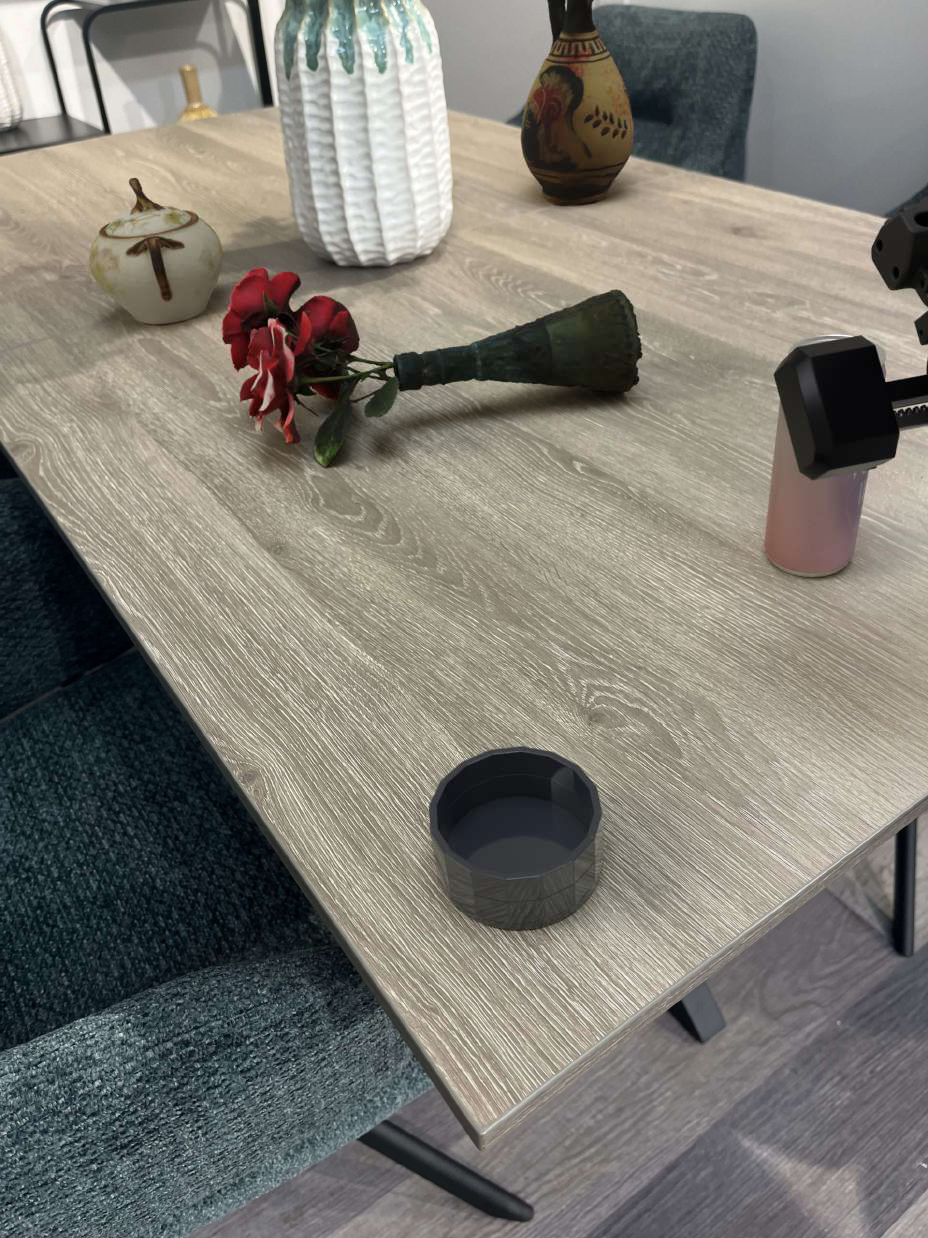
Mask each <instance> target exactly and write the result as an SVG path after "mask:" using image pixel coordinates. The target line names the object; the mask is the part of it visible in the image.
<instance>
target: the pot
mask: <svg viewBox="0 0 928 1238" xmlns="http://www.w3.org/2000/svg"><path fill="white" fill-rule="evenodd" d="M428 814H429V815H428V816H429V831H430V832H429V833H430V838H431V845H432V850H433V856H434V862H435V868H436V874H437V877H438V878H439V882H440V884H441V885H440V886H441V887H442V889H443V891H444V893H445V895H446V896H447V898H448V899H449V901H450V902H451V903H452V904H453V905H454V906H455V907H456V908H457V909H458V910H459V911H460V912H462V914H464V915H465V916H467V917H469V918H470V919H472V920H474V921H476V922H478V923H480V924H483V925H486V926H489V927H491V928H496V929H501V930H509V931H510V930H511V931H527V930H533V929H539V928H543V927H547V926H550V925H552V924H555V923H557V922H560V921H562V920H564V919H565V918H567V917H569V916H570V915H572V914H573V913H574V912H576V911H577V910H578V909H580V908H581V907H582V906H583V905H584V903H586V901H587V900H588V899H589V898H590V896H591V895H592V894H593V891H594V890H595V888H596V886H597V885H598V881H599V879H600V875H601V870H602V861H603V858H604V847H603V846H604V838H603V837H604V836H603V835H604V833H603V829H604V827H603V824H604V822H603V809H602V804H601V799H600V795H599V790H598V787H597V785H596V784H595V783H594V782H593V780H592V779H591V778H590V777H589V776H588V775H587V773H586V772H585V771H584V770H583V768H581V766H580V765H579V764H577V763H575V762H573V761H571V760H570V759H567V758H565V757H564V756H562V755H561V754H558V753H556V752H555V751H552V750H546V749H541V748H535V747H529V746H522V745H521V746H511V747H503V748H493V749H489V750H486V751H483V752H481V753H479V754H477V755H475V756H472V757H470V758H467V759H465V760H462V761H460V763H459V764H458V765H456V767H454V768H453V769H452V770H451V771H450V772H448V773H447V774H446V775H445V776H444V777H443V778H442V779H440V781H439V783H438V785H437V787H436V790H435V792H434V794H433V796H432V797H431V800H430V802H429V805H428Z"/></svg>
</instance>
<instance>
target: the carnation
mask: <svg viewBox="0 0 928 1238" xmlns="http://www.w3.org/2000/svg"><path fill="white" fill-rule="evenodd" d="M301 285H302V281H301V277H300V276H299V275H298V274H297V273H295V272H293V271H280V272H279V273H277V274H276V275H273V276H272V278H270V277H269V273H268V270H267V269H266V268H265V267H257V268H252V269H251V270H250V271H248V272H247V273H246V275H245V276H244V277H243V278H242V279H241V280H239V282H238V283H237V284H235V286H234V288H233V290H232V291H231V294H230V296H229V297H230V298H229V300H230V304H229V305H228V306H227V310H228V312H226V313H225V315H224V317H223V319H222V323H221V332H222V337H221V338H222V342H223V343H224V344H225V345H230V357H231V363H232V365H233V369H235V370H236V372H237V373H239V371H240V370H241V369H245V368H246V367H248V366H249V367H250V368H251V369H253V370H255V371H257V373H256V374H255V373H254V374H253V375H251V376H250V377H248V378H247V379H245V380H244V381H243V383H242V384H241V388H240V391H239V402H240V403H241V402H244V401H248V400H251V401H250V404H249V407H248V409H247V414H248V417H249V419H253V418H255V421H254V428H255V430H256V431H257V432H260V433H262V432H263V431H264V430H263V428H262V426H263V421H264V418H265V417H266V416H268V415H269V414H272V413H273V412H275V411H277V410H279V411H280V412H279V413H280V417H279V419H277V420H276V422H275V423H274V428H275V429H277V430H278V431H279V432H280V433H282V434H283V435H284V438H285V443H286V444H290V445H297V444H300V443H301V441H302V438H301V435H300V433H299V431H298V429H297V425H296V422H295V417H294V416H295V403H296V404H297V405H296V406H301V407H303V408H304V409H306V410H307V411H309V412H310V413H312V414H313V415H315V416H316V417H320V415H318V414H317V413H316V412H314V411H313V410H312V409H310V408H309V407H307V406H306V405H305V403H304V402H302V401H301V400H300V399H299V397H298V395H300V396H303V397H313V396H317V395H319V396H322V397H324V398H325V399H326V400H327V399H328V400H330V401H334V402H335V404H336V406H335V407H334V408H333V410H332V412H331V413H330V414H329V415H328V416H327V418H326V419H325V420H324V421H323V422H322V424H321V425H320V426H319V427H318V430H317V433H316V435H315V437H314V441H313V450H312V451H313V455H314V458H315V459H316V461H317V462H318V463H320V465H321V466H322V467H325V468H326V467H328V465H329V464H330V463H331V460H332V459H333V458H334V457H335V456H336V455H337V453H338V452H339V450H340V448H341V447H342V445H343V444H344V442H345V440H346V437H347V436H348V432H349V430H350V424H351V420H352V419H351V418H352V411H353V404H356V405H357V403H359V402H361V401H363V400H365V399H367V398H369V397H370V399H369V400H368V401H367V402H366V403H365V405H364V411H363V413H364V417H366V418H381V417H384V416H385V415H386V414H388V413H389V411H391V409H392V407H393V406H394V403H395V401H396V399H397V397H398V393H399V392H400V393H402V392H406V391H420V390H421V389H422V388H423V386H425V387H433V386H437V385H442V386H447V385H448V384H452V383H458V382H469V381H473V380H474V381H477V382H487V381H492V382H498V383H499V382H501V383H512V384H513V383H514V384H526V385H527V384H528V385H543V386H550V387H563V388H564V387H565V388H572V389H573V388H581V389H588V390H595V391H600V392H605V391H607V392H611V393H612V392H613V393H614V392H620V393H628V392H631V390H632V389H633V388H634V387H635V386H637V385H638V384H639V382H640V375H639V368H638V366H637V364H638V362H639V360H640V359H642V358H643V355H644V354H643V351H642V346H643V344H642V342H641V341H642V338H641V337H640V336H641V333H640V332H639V331H638V330H639V326H638V320H637V314H636V313H635V311H634V309H635V306H634V305H633V303H632V302H631V300H630V299H629V298H628V297H627V295H626V294H625V292H623V291H622V290H621V289H617V288H616V289H611V290H610V291H607V292H604V293H600V294H597V295H592V296H591V297H587V299H585V300H582V301H581V302H578V303H575V304H574V305H572V306H568V307H563V309H561V310H558V311H553V312H551V313H548V314H545V315H543V316H542V317H536V319H535V320H534V321H529V322H525V323H523V324H522V325H518V324H516V325H515V327H512V328H510V329H509V328H508V329H506V330H505V331H502V332H498V333H496V334H491V335H489V336H487V337H484V338H483V339H480V340H476V341H473V342H471V343H469V344H467V345H457V346H447V347H442V348H436V349H434V350H425V351H423V352H422V353H418V352H416V351H409V352H402V353H400V354H398V353H395V354H393V357H392V361H377V360H372V359H371V360H370V359H366V358H361V357H358V356H356V355H354V354H352V353H355V352H357V351H358V349H359V348H360V340H361V338H360V334H359V331H358V328H357V325H356V322H355V319H354V318H353V316H352V314H351V312H350V310H349V309H348V308H347V307H346V306H345V304H343V303H342V302H341V301H337V300H336V299H334V298H333V297H330V296H326V295H314V296H313V297H311V298H309V299H308V300H307V301H306V302H304V303H303V304H302V305H300V306H299V308H297V309H296V310H295V311H294V310H293V309H292V308H291V305H290V299H292V296H293V295H294V294H295V292H296V291H297V290H298V289H299V288H301ZM352 363H364V364H368V365H373V366H378V367H374V368H372V369H369V370H366V371H361V370H358V369H355V368H353V367H351V366H349V365H350V364H352ZM389 369H392V370H393V375H394V376H389V375H388V374H387V371H388V370H389ZM349 372H352V374H350V373H349ZM372 374H374V375H372ZM368 378H370V379H372V380H377V381H383V382H385V383H384V384H383V385H382V386H381V387H380V388H378V389H376V390H374V391H372V392H371V393H369V394H367V395H363V396H361V397H359V398H356V399H352V398H351V397H352V394H353V393H354V391H355V390H356V387H357V385H358V384H359V382H360V383H363V382H364V381H366V379H368Z"/></svg>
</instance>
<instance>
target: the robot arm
mask: <svg viewBox="0 0 928 1238" xmlns="http://www.w3.org/2000/svg"><path fill="white" fill-rule="evenodd" d="M870 257H871V258H870V259H871V262H872V263H873V265H874V266H875V268H876V270H877V271H878V273H879V275H880V277H881V278H882V280H883V282H884V284H885V285H886V287H887V288H888V290H890V291H893V292H895V291H901V290H907V289H912V290H914V291H915V292H916V294H917V296H918V297H919V299H920V301H921V302H922V303H923V306H925V307H926V308H928V195H926V196H924V197H922V198H921V199H920V201H919V202H917V203H911V204H905V205H902V206H901V209H900V210H899V212H898V213H897V214H896V215H895V216H893V217H892V218H888V219H886V220H885V221H884V223H883V225H882V226H881V227H880V228H879V230H878V233H877V235H876V237H875V239H874V241H873V243H872V245H871V248H870ZM913 324H914V328H915V330H916V334H917V339H918V342H919V344H920V345H921V346H928V310H927V311H925V312H924V313H923V314H921V315H920V316H919V317H918V318H916V319H915V320H913ZM852 336H853V337H848V338H842V339H837V340H831V341H826V342H821V343H815V344H810V345H804V346H799V347H796V348H795V349H794V350H793V351H792V352H791V353H790V354H789V355H787V356H785V357H784V358H783V359H782V360H781V361H780V363H779V365H778V366H777V367H776V369H775V371H774V373H773V379H774V383H775V386H776V389H777V393H778V397H779V402H780V401H781V405H782V409H783V412H784V416H785V420H786V424H787V427H788V431H789V435H790V439H791V443H792V446H793V450H794V454H795V458H796V461H797V465H798V469H799V472H800V473H802V474H803V475H805V476H806V477H808V478H809V479H811V480H812V481H815V480H820V479H825V478H830V477H836V476H841V475H846V474H851V473H856V472H861V471H866V470H869V471H870V470H871V471H872V470H876V469H877V468H878V466H881V465H884V464H886V463H888V462H890V461H892V460H893V459H895V458H896V455H897V450H898V444H899V440H900V435H901V432H904V431H910V430H914V429H920V428H924V427H928V358H927V359H926V366H925V367H926V370H925V372H926V373H925V374H921V375H916V376H910V377H905V378H900V379H895V380H889V381H886V378H885V377H884V374H883V370H882V367H881V363H880V359H879V356H878V352H877V349H876V345H875V344H873V343H872V342H870V341H871V340H870V339H868V338H866V337H865V336H863V334H862V335H861V334H859V335H852ZM867 339H868V340H867ZM869 340H870V341H869ZM926 404H927V405H926ZM918 405H920V406H918ZM912 406H913V407H912ZM904 408H905V409H904ZM897 409H898V410H897ZM896 410H897V411H896Z"/></svg>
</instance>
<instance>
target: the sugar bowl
mask: <svg viewBox="0 0 928 1238" xmlns="http://www.w3.org/2000/svg"><path fill="white" fill-rule="evenodd" d="M128 185H129V186H130V188H131V189H132V191H133V193H134V195H135V196H136V202H135V205H134V206H133V208H131V210H128V211H126V212H123V213H121V214H120V215H118V216H116V217H115V218H113V220H112V221H110V222H108V223H107V224H105V225H104V226H102V227H101V228H100V229H99V231H98V235H97V236H96V238H95V239H94V241H93V242H92V244H91V246H90V250H89V255H88V262H89V269H90V271H91V274H92V276H93V279H94V280H95V281H96V283H97V285H98V286H99V287H100V288H101V290H103V291H104V292H105V294H107V296H109V297H110V298H111V299H112V300H114V302H115V303H117V304H118V305H119V306H120V307H121V308H122V309H124V310H125V311H126V312H127V313H129V314H130V315H131V316H132V317H133V318H134V319H135V320H136V321H138V322H139V323H142V324H148V325H166V324H172V323H178V322H182V321H186V320H190V319H194V318H195V317H197V316H199V315H201V314H203V312H204V311H205V310H206V308H207V305H208V303H209V301H210V298H211V296H212V294H213V291H214V289H215V287H216V285H217V283H218V281H219V278H220V275H221V271H222V267H223V263H224V250H223V245H222V243H221V239H220V237H219V235H218V234H217V233H216V231H215V229H214V228H213V227H212V226H211V225H210V224H209V223H208V222H207V221H205V220H204V219H202V218H201V217H200V216H199V215H198V214H197V213H196V212H193V211H192V210H186V209H184V210H183V209H180V208H178V207H174V206H168V205H167V206H166V205H161V204H159V203H156V202H154V201H153V200H151V199H150V198H148V197H147V196H146V194H145V193H144V191H143V187H142V184H141V182H140V180H139V178H137V177H131V178H129V180H128Z"/></svg>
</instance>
